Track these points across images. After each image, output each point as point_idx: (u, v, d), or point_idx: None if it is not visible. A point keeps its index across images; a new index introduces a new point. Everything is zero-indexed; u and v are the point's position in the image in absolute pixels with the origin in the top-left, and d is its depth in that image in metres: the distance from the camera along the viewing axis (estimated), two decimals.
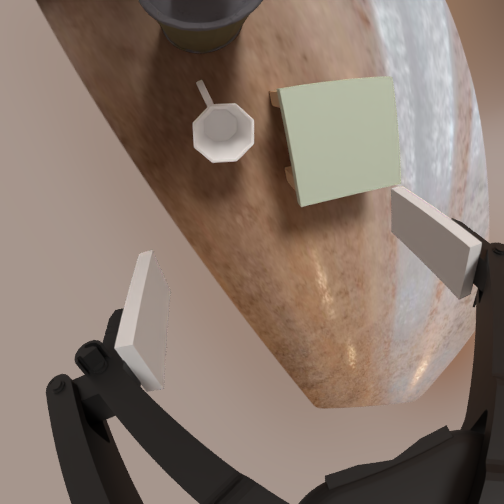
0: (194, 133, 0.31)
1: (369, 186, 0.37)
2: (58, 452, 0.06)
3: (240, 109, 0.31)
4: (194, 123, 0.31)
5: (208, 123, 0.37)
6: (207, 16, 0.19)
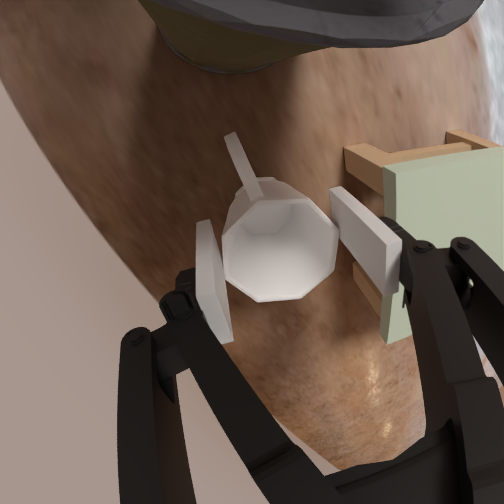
0: (225, 255, 0.17)
1: None
2: (119, 404, 0.08)
3: (317, 211, 0.16)
4: (225, 237, 0.17)
5: None
6: None
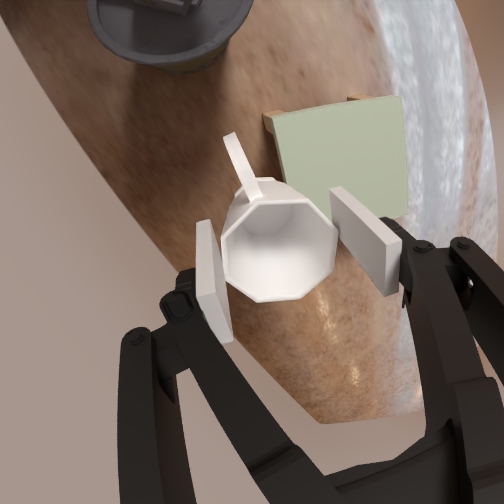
0: (224, 256, 0.17)
1: None
2: (119, 404, 0.08)
3: (316, 211, 0.16)
4: (224, 238, 0.17)
5: None
6: (177, 45, 0.16)
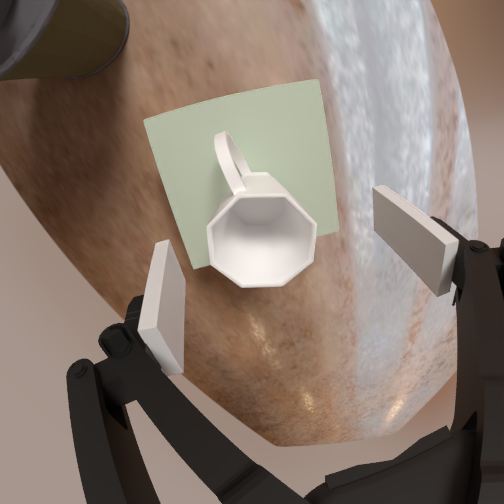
0: (210, 243, 0.19)
1: None
2: (74, 437, 0.07)
3: (294, 205, 0.18)
4: (210, 227, 0.18)
5: None
6: None
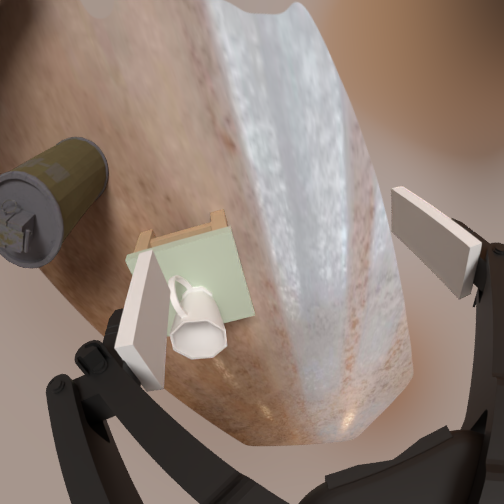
0: (172, 341, 0.35)
1: (222, 320, 0.45)
2: (58, 452, 0.06)
3: (212, 323, 0.34)
4: (171, 335, 0.35)
5: None
6: (34, 255, 0.27)
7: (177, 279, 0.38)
